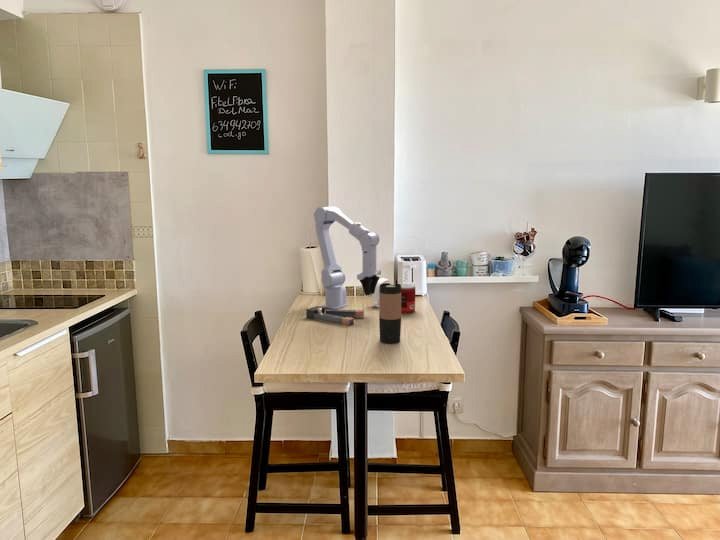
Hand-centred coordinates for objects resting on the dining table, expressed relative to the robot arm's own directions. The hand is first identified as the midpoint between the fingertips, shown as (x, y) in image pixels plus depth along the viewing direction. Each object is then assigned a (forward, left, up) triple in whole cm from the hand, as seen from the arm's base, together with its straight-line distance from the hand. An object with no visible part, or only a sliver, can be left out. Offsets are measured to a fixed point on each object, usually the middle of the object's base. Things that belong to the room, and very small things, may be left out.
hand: (369, 294), depth 232 cm
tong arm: (+10, -5, -8) cm, 14 cm away
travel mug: (+27, +28, -9) cm, 40 cm away
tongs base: (+17, -6, -8) cm, 20 cm away
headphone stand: (-14, -4, -9) cm, 17 cm away
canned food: (-13, +10, -9) cm, 19 cm away
